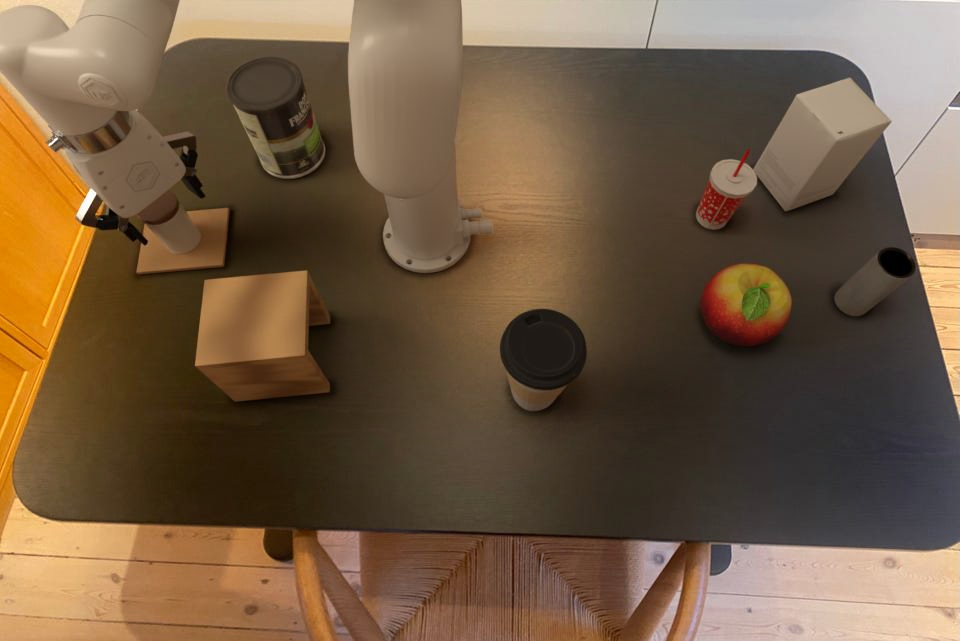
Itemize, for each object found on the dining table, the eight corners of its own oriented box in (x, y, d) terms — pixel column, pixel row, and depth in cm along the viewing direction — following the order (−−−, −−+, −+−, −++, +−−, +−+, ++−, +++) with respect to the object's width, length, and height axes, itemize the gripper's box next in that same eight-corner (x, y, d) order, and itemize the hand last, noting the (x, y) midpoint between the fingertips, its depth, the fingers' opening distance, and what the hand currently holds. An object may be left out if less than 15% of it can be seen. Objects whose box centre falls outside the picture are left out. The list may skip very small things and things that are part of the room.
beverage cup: (737, 208, 90) (778, 141, 77) (726, 239, 87) (767, 175, 75) (696, 194, 91) (731, 126, 78) (685, 225, 89) (718, 159, 76)
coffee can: (334, 134, 97) (312, 61, 84) (313, 184, 92) (286, 114, 80) (273, 124, 98) (242, 50, 85) (249, 173, 93) (213, 103, 81)
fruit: (783, 307, 82) (819, 269, 73) (756, 371, 78) (792, 339, 69) (708, 273, 85) (735, 232, 76) (679, 333, 81) (703, 297, 72)
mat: (229, 209, 90) (228, 207, 90) (224, 266, 86) (222, 264, 85) (148, 217, 90) (146, 214, 89) (138, 274, 85) (136, 272, 85)
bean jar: (203, 222, 88) (179, 186, 81) (199, 253, 86) (174, 219, 79) (166, 225, 88) (138, 190, 81) (161, 256, 86) (132, 223, 79)
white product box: (835, 195, 91) (896, 121, 77) (784, 213, 89) (837, 141, 76) (799, 152, 95) (851, 74, 81) (750, 169, 93) (795, 92, 80)
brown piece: (330, 316, 82) (307, 270, 71) (329, 392, 77) (305, 355, 66) (241, 324, 82) (204, 279, 71) (234, 401, 77) (194, 366, 66)
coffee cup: (527, 342, 80) (536, 286, 67) (585, 385, 77) (607, 335, 64) (482, 395, 77) (482, 347, 64) (541, 441, 74) (554, 401, 61)
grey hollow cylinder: (872, 298, 83) (921, 257, 74) (861, 322, 81) (910, 284, 72) (840, 282, 84) (884, 240, 75) (828, 306, 82) (872, 266, 73)
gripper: (45, 188, 63) (134, 273, 78) (177, 92, 68) (236, 188, 84) (6, 154, 65) (100, 243, 80) (137, 64, 71) (201, 163, 86)
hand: (169, 215), depth 82 cm, fingers open, 9 cm apart
